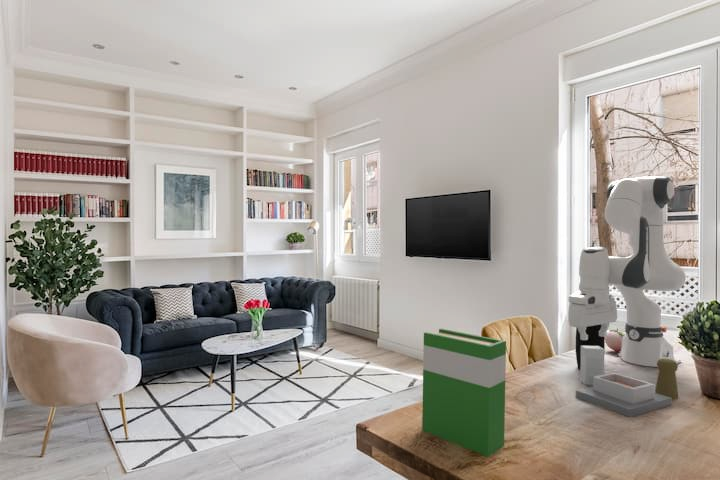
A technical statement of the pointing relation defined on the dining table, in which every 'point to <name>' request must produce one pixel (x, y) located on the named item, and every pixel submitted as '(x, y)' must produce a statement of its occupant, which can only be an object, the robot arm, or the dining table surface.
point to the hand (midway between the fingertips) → (593, 338)
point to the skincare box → (591, 363)
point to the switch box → (623, 394)
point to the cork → (667, 378)
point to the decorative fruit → (614, 340)
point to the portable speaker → (589, 341)
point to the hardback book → (464, 389)
